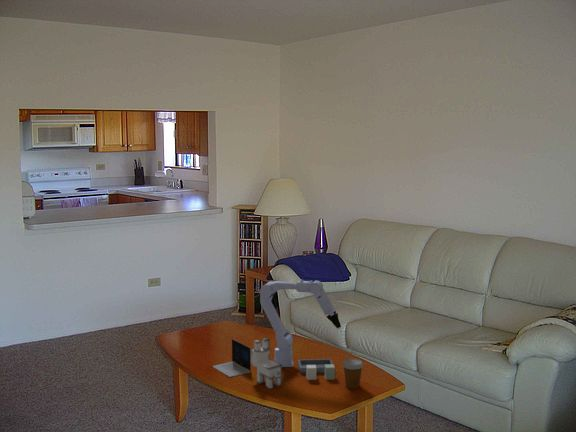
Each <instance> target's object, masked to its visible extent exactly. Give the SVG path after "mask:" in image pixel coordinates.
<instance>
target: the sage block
mask: <svg viewBox="0 0 576 432" xmlns="http://www.w3.org/2000/svg"><path fill="white" fill-rule="evenodd" d="M323 374H324V375H323V376H324V379H325V380H335V379H336V367H335V364H325V373H323Z"/></svg>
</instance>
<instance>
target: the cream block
mask: <svg viewBox="0 0 576 432" xmlns="http://www.w3.org/2000/svg"><path fill="white" fill-rule="evenodd" d="M305 376H306V380H307V381H316V380H317V373H316V365H306V375H305Z"/></svg>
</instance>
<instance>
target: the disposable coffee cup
mask: <svg viewBox="0 0 576 432" xmlns="http://www.w3.org/2000/svg"><path fill="white" fill-rule="evenodd" d="M342 366H343V371H344V381H345V382H344V383H345V386H346V388H348V389H350V390H351V389H353V390H354V389H358V388H359V387H360V385H361V384H360V383H361V376H362V375H361V374H362V369H363V366H364V364H363V362H362V360H360V359H357V358H346V359H344V361H343V363H342Z"/></svg>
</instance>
